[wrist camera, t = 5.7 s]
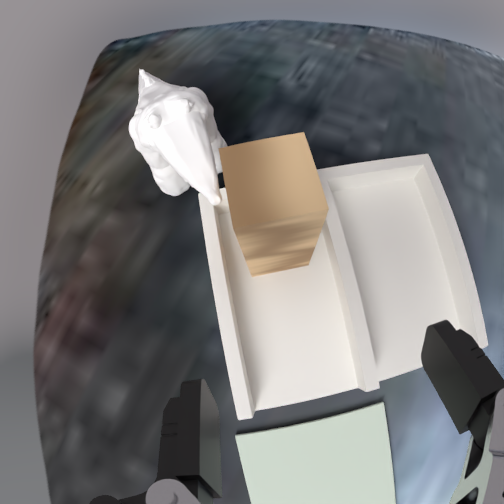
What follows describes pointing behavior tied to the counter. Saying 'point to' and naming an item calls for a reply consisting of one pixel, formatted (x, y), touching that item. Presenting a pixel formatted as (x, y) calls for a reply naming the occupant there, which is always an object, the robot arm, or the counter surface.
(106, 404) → the counter surface
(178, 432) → the robot arm
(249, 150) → the oak block
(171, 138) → the dinosaur statue
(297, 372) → the tray
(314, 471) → the sage mat
